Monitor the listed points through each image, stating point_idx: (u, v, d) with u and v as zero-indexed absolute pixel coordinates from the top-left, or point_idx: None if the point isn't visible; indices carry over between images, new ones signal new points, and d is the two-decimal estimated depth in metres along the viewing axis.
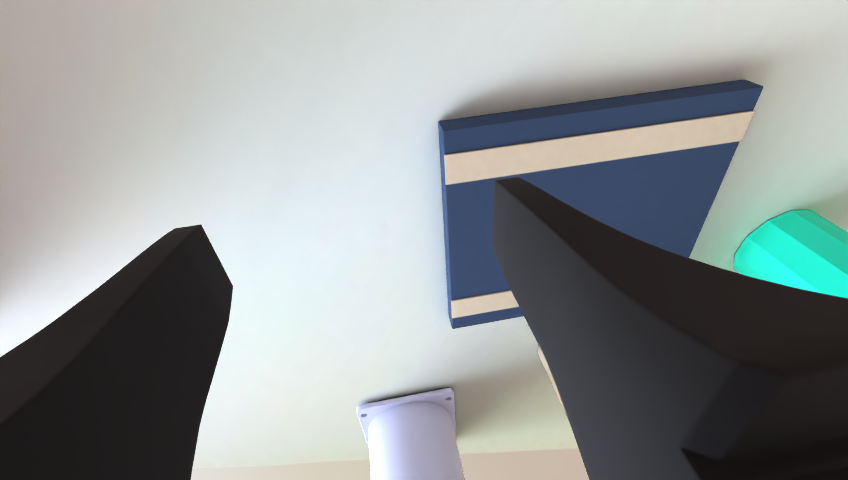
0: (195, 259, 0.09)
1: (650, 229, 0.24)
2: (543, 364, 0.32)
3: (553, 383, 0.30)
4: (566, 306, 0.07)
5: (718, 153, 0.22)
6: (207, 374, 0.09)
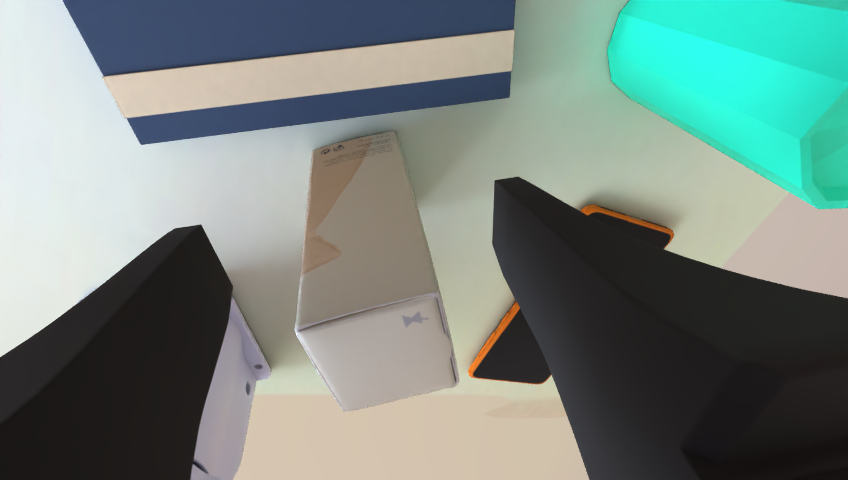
0: (195, 259, 0.09)
1: None
2: None
3: None
4: (566, 306, 0.07)
5: None
6: (207, 374, 0.09)
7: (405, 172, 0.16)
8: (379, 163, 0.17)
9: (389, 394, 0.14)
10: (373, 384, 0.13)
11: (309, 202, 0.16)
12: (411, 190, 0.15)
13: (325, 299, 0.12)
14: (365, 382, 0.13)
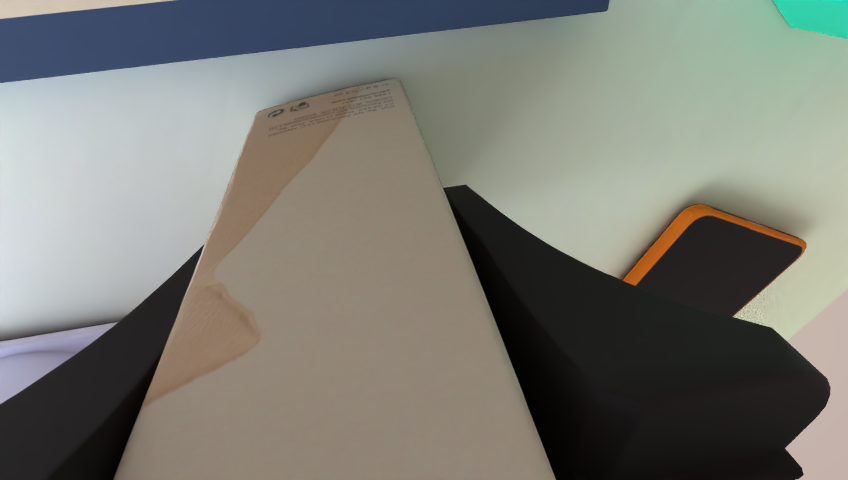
0: None
1: None
2: None
3: None
4: (495, 319, 0.07)
5: None
6: None
7: (421, 141, 0.08)
8: (369, 126, 0.09)
9: None
10: None
11: (223, 201, 0.08)
12: (436, 175, 0.07)
13: None
14: None
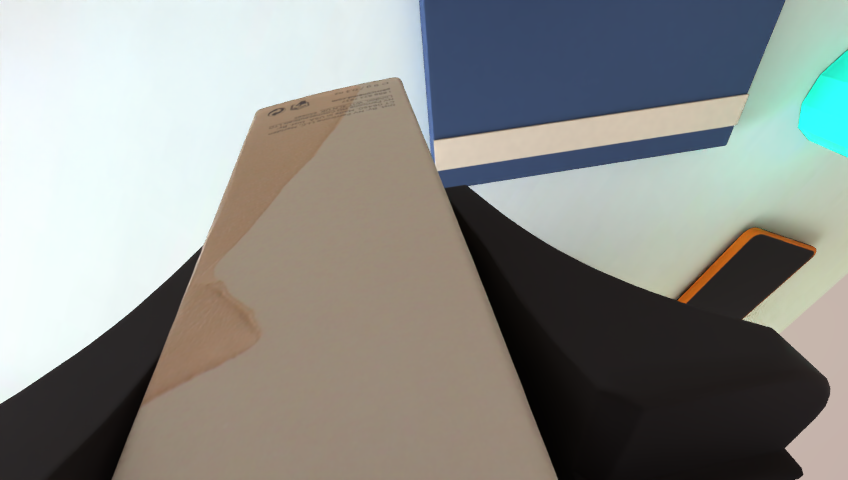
0: None
1: (702, 33, 0.18)
2: None
3: None
4: None
5: None
6: None
7: (421, 139, 0.08)
8: (369, 125, 0.09)
9: None
10: None
11: (223, 200, 0.08)
12: (436, 174, 0.07)
13: None
14: None
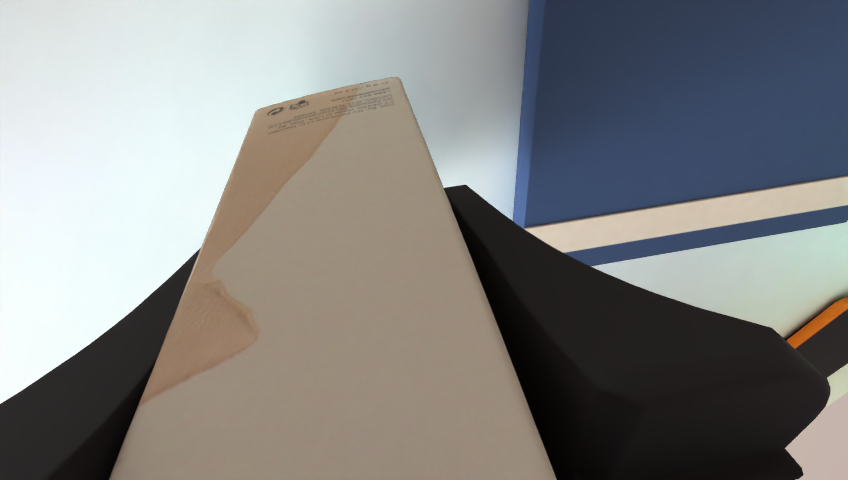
0: None
1: None
2: None
3: None
4: (495, 319, 0.07)
5: None
6: None
7: (421, 139, 0.08)
8: (369, 124, 0.09)
9: None
10: None
11: (222, 199, 0.08)
12: (436, 173, 0.07)
13: None
14: None
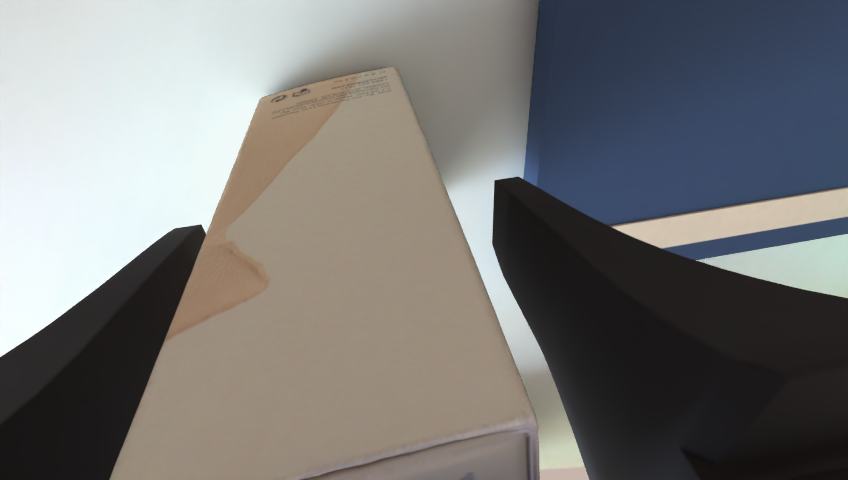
0: (195, 259, 0.09)
1: None
2: None
3: None
4: (566, 306, 0.07)
5: None
6: None
7: (415, 121, 0.09)
8: (367, 108, 0.10)
9: None
10: None
11: (230, 175, 0.08)
12: (428, 150, 0.08)
13: (199, 427, 0.04)
14: None
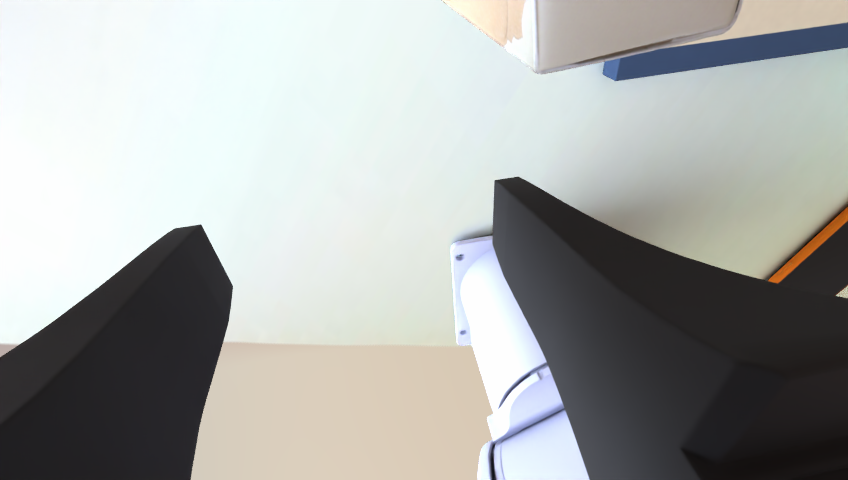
0: (195, 259, 0.09)
1: None
2: None
3: None
4: (566, 306, 0.07)
5: None
6: (207, 374, 0.09)
7: None
8: None
9: (628, 20, 0.08)
10: None
11: None
12: None
13: None
14: None
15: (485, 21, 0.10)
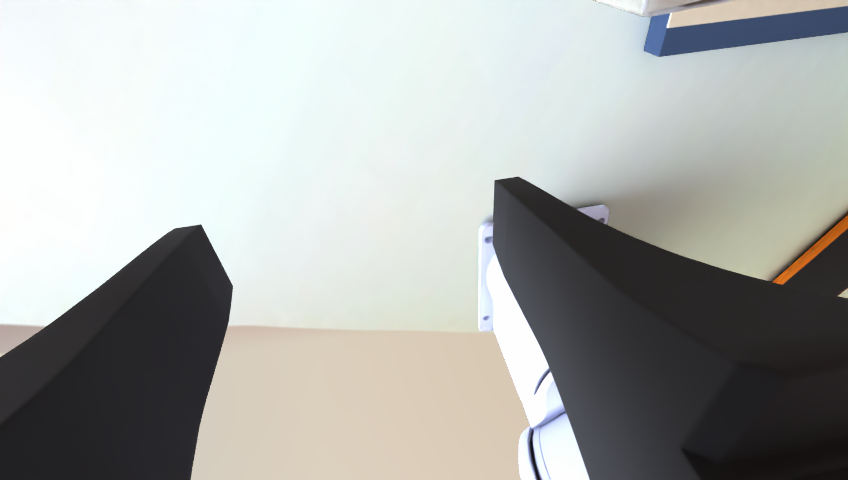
0: (195, 259, 0.09)
1: None
2: None
3: None
4: (566, 306, 0.07)
5: None
6: (207, 374, 0.09)
7: None
8: None
9: None
10: None
11: None
12: None
13: None
14: None
15: None
